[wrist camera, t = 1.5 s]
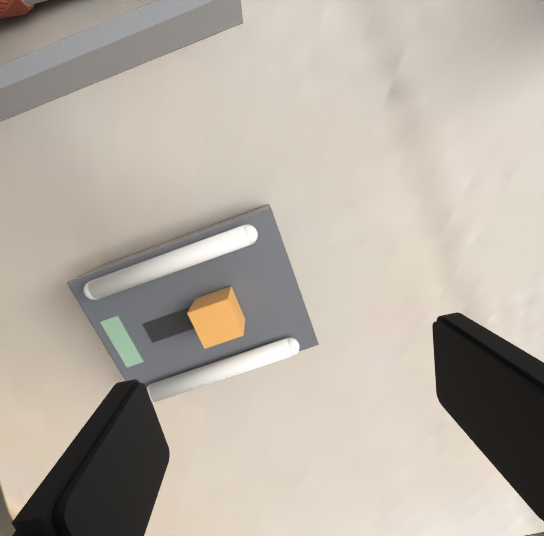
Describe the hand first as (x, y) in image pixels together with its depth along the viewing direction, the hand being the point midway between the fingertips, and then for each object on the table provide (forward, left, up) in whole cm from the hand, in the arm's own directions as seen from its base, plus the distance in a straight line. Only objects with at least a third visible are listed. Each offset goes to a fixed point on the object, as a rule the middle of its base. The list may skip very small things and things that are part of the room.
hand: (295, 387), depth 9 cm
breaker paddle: (+7, +4, -20) cm, 22 cm away
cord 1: (+10, -2, -21) cm, 23 cm away
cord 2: (+10, +11, -21) cm, 25 cm away
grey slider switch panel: (+10, +4, -27) cm, 29 cm away
